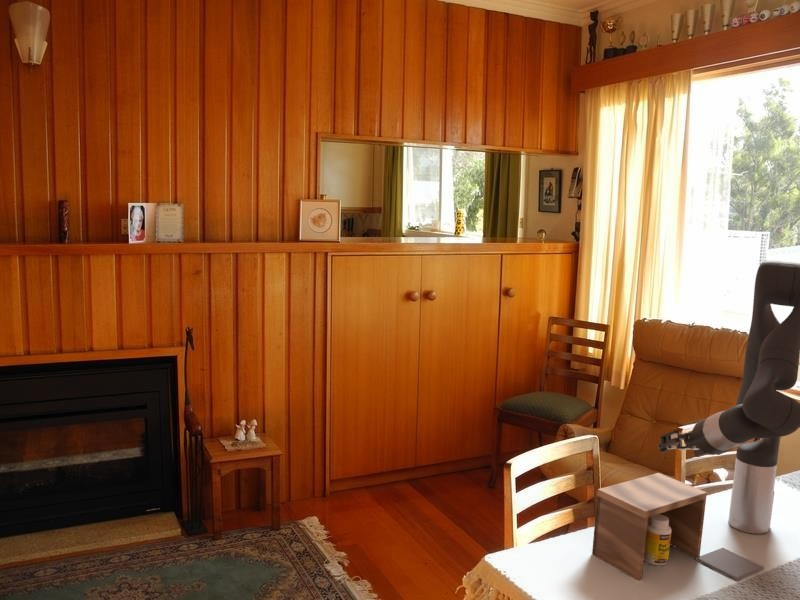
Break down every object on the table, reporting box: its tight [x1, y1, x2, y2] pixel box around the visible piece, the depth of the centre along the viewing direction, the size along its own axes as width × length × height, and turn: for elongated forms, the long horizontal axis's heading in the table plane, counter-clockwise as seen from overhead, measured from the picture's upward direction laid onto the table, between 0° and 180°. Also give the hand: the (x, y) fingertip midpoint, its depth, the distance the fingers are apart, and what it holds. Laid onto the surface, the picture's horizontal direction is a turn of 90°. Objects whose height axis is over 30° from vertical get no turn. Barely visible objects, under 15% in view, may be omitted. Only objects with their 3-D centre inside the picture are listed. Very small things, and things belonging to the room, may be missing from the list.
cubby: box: [591, 472, 708, 581], centre depth 171 cm, size 21×13×16 cm, turn 124°
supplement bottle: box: [644, 514, 672, 567], centre depth 169 cm, size 6×6×10 cm
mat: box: [695, 547, 764, 581], centre depth 170 cm, size 10×10×1 cm
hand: (678, 450), depth 171 cm, fingers open, 8 cm apart
